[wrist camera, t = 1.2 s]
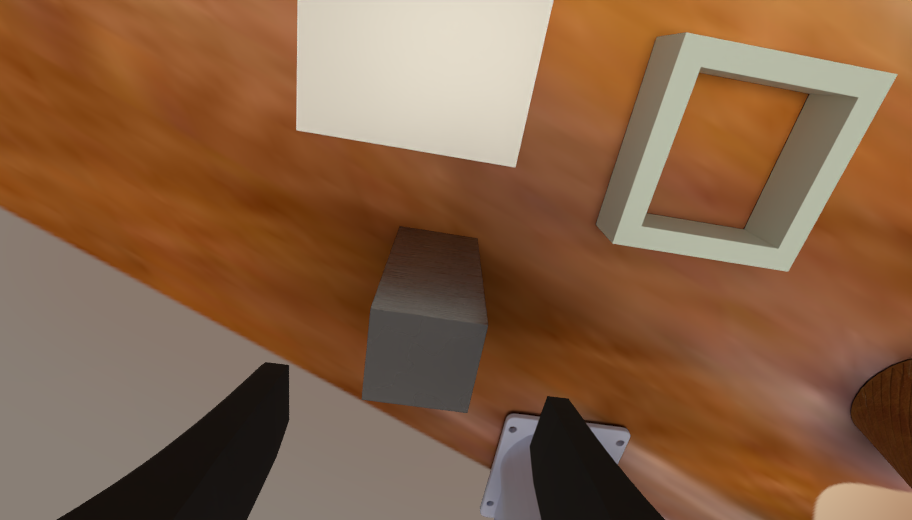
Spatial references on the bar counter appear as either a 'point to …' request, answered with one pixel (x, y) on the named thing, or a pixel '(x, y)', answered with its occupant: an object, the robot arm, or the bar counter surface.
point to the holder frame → (794, 175)
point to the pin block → (427, 323)
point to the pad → (421, 73)
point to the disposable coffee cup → (888, 416)
